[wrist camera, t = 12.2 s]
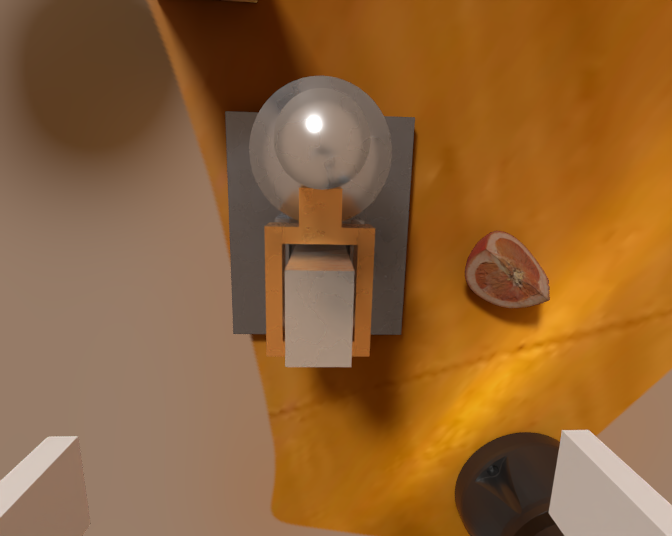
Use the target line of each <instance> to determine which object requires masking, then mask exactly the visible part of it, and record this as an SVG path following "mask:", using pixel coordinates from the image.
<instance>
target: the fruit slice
mask: <svg viewBox="0 0 672 536" xmlns="http://www.w3.org/2000/svg"><path fill="white" fill-rule="evenodd" d="M465 278H466V281H467V284H468V285H469V287H470V288H471V290H472V291H473V292H474V293H475V294H477V295H478V296H479V297H481V298H482V299H484V300H486V301H488V302H490V303H492V304H494V305H498V306H501V307H505V308H521V307H529V306H534V305H537V304H540V303H544V302H546V301H549V300H550V297H549V285H548V284H549V280H548V278H547V276H546V274H545V272H544V271H543V269H542V268H541V266H540V265H539V263H538V262H537V261H536V259H535V258H534V257H533V255H532V254H531V253H530V252H529V250H528V249H527V248H526V247H525V246H524V245H523V244H522V243H521V242H520V241H519V240H517V239H516V238H515V237H514V236H512V235H510V234H508V233H506V232H502V231H494V232H491V233H489V234H488V235H486V236H485V237H484V238H482V239H481V240H480V241H479V242H478V243H477V244H476V246H475V247H474V248H473V250H472V251H471V253H470V255H469V257H468V259H467V263H466V268H465Z"/></svg>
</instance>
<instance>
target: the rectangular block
mask: <svg viewBox="0 0 672 536" xmlns="http://www.w3.org/2000/svg"><path fill="white" fill-rule="evenodd" d="M354 274H355V271H354V268H353V266H352V263H351V260H350V258H349V255H348V253H347V250H346V247H345V245H329V244H296V245H295V247H294V250H293V252H292V254H291V257H290V259H289V261H288V264H287V266H286V268H285V367H351V363H352V333H353V304H354Z"/></svg>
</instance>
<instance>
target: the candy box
mask: <svg viewBox="0 0 672 536" xmlns="http://www.w3.org/2000/svg"><path fill="white" fill-rule="evenodd" d="M223 1H241V2H254V3H257V0H223Z"/></svg>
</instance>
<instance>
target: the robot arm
mask: <svg viewBox="0 0 672 536" xmlns="http://www.w3.org/2000/svg"><path fill="white" fill-rule="evenodd" d="M455 502H456V506H457V509H458V512H459V514H460V516H461V519H462V521H463V523H464V526H465V528H466V529H467V531H468V533H469V534H470V536H672V505H671V504H670V503H669V502H667V501H666V500H665V499H664V498H663V497H662V496H661V495H660V494H659V493H657V492H656V491H655V490H654V489H653V488H652V487H651V486H650V485H649V484H648V483H646V482H645V481H644V480H643V479H642V478H641V477H640V476H639V475H638V474H637V473H635V472H634V471H633V470H632V469H631V468H630V467H629V466H627V464H625V463H624V462H623V461H622V460H621V459H620V458H619V457H618V456H617V455H616V454H615V453H613V452H612V451H611V450H610V449H609V448H608V447H607V446H606V445H604V444H603V443H602V442H601V441H600V440H599V439H598V438H597V437H596V436H595V435H594V434H592V433H591V432H590V431H589V430H562V434H561V440H560V442H559V441H557V440H555V439H553V438H551V437H549V436H546V435H542V434H538V433H527V432H525V433H514V434H509V435H505V436H502V437H500V438H497V439H495V440H493V441H491V442H489V443H487V444H486V445H484V446H483V447H481V448H480V449H479V450H477V451H476V452H475V453H474V454H473V455H472V456H471V457H470V458H469V459H468V461H467V462H466V463H465V465H464V466H463V468H462V470H461V472H460V474H459V476H458V479H457V482H456V487H455ZM90 524H91V523H90V516H89V509H88V502H87V495H86V488H85V481H84V474H83V467H82V460H81V453H80V446H79V439H78V436H59V437H57V436H56V437H47V438H46V439H45V440H44V441H43V442H42V443H41V444H40V445H38V446H37V448H35V449H34V450H33V451H32V452H31V453H30V454H29V455H28V456H27V457H26V458H25V459H23V460H22V461H21V462H20V463H19V464H18V465H17V466H16V467H15V468H14V469H13V470H12V471H11V472H9V473H8V474H7V475H6V476H5V477H4V478H3V479H2V480H1V481H0V536H83V534H84V532H85V531H86V530H87V528H88V527H89V525H90Z"/></svg>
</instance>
